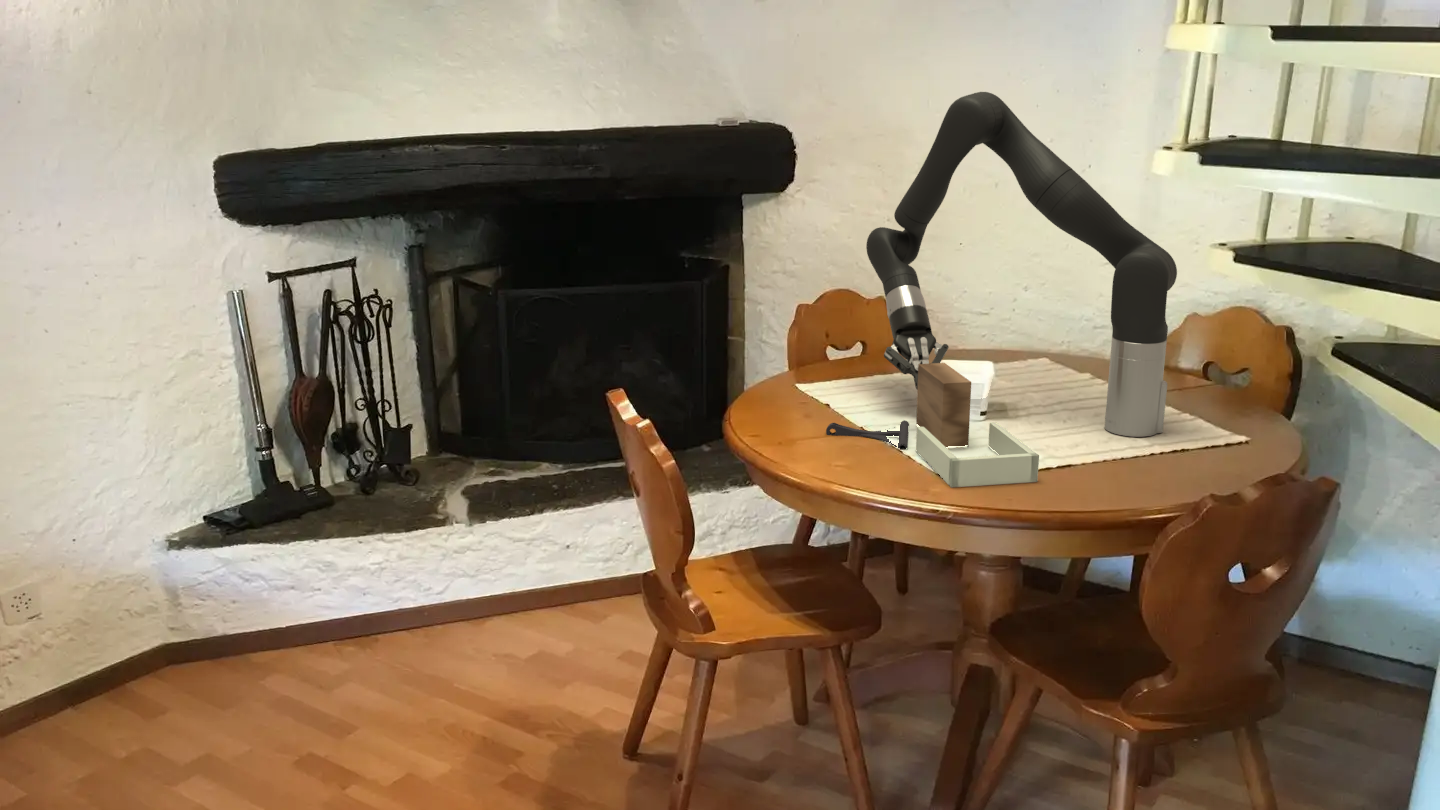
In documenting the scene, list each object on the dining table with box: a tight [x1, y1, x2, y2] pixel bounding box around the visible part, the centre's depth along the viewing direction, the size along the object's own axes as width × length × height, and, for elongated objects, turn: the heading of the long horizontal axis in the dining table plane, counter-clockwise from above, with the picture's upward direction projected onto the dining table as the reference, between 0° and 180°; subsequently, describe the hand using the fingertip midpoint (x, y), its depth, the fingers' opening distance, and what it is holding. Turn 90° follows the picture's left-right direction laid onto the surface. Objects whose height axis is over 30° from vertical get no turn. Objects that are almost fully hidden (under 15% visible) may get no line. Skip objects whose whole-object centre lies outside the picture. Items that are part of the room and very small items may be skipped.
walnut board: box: [915, 362, 972, 447], centre depth 201 cm, size 5×14×12 cm, turn 8°
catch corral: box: [915, 421, 1040, 488], centre depth 186 cm, size 14×18×4 cm
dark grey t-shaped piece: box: [825, 419, 910, 449], centre depth 203 cm, size 14×15×3 cm
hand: (925, 390), depth 210 cm, fingers closed
